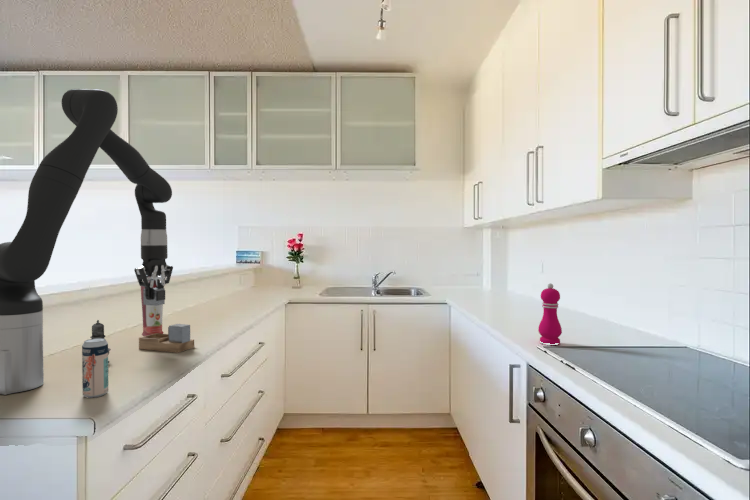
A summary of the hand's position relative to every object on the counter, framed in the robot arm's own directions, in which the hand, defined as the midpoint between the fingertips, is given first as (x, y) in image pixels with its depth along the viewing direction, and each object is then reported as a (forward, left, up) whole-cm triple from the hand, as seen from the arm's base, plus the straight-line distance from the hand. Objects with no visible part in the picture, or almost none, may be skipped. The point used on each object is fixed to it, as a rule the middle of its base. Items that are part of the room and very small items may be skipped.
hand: (154, 298), depth 140 cm
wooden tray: (0, -4, -15) cm, 16 cm away
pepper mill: (+46, -119, -16) cm, 128 cm away
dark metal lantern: (-20, 0, -16) cm, 25 cm away
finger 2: (0, -9, -13) cm, 16 cm away
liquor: (+11, +12, -16) cm, 23 cm away
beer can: (-39, -22, -16) cm, 47 cm away
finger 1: (0, 0, -2) cm, 2 cm away
